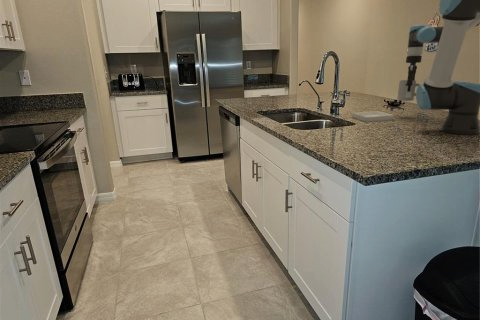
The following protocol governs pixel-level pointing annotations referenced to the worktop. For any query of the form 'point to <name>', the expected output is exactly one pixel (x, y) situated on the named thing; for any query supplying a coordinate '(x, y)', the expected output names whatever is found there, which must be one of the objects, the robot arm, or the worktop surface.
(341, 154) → the worktop surface
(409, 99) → the mug
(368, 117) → the tray
